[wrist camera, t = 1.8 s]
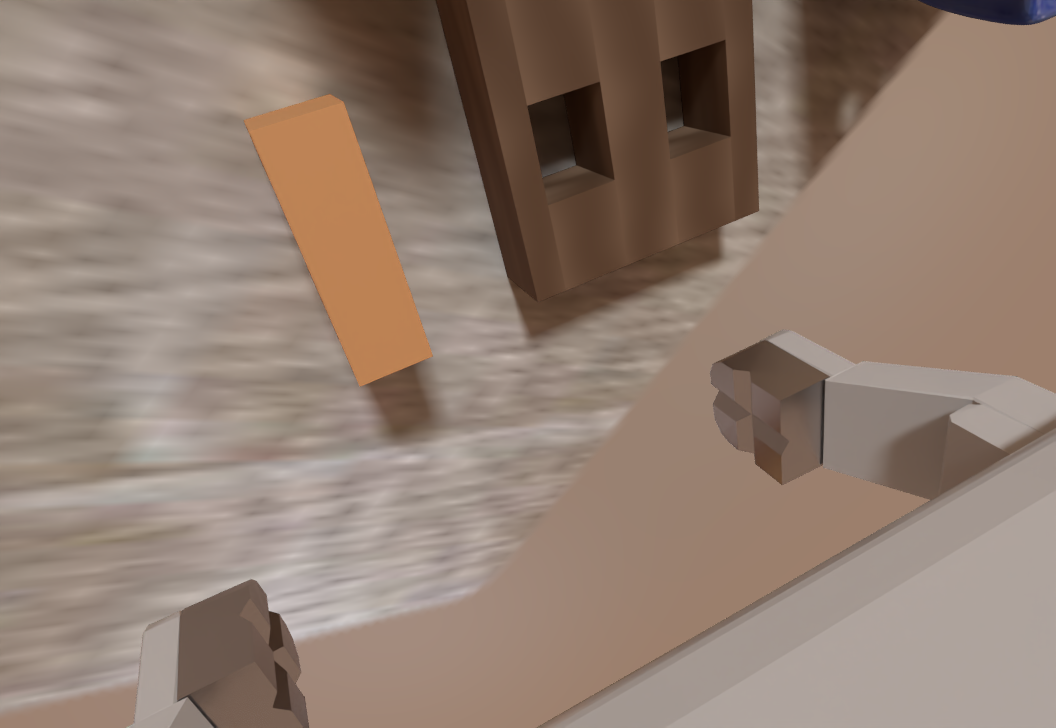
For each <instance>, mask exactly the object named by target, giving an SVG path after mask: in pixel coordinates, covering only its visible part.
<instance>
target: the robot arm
mask: <svg viewBox="0 0 1056 728" xmlns="http://www.w3.org/2000/svg"><path fill="white" fill-rule="evenodd" d="M710 376H711V384H712V385H713V386H714V387H716V388H717V389H718V390H719V392H718V394H717V396H716V399H715V401H714V403H713V409H714V416H715V420H716V423H717V425H718V427H719V429H720V431H721V433H722V434H723V436H724V437H725V438H726V439H727V441H728V442H729V443H730V444H732V445H733V446H734V447H735V448H736V449H738V450H741V451H745V452H750V453H754V457H755V464H756V465H757V466H759V467H760V468H761V469H762V470H764V471H765V472H766V473H767V474H769V475H770V476H771V477H772V478H774V479H775V480H776V481H777V482H779V483H780V484H781V485H784V484H786V483H788V482H790V481H792V480H794V479H796V478H798V477H800V476H802V475H804V474H806V473H808V472H810V471H812V470H814V469H816V468H818V467H820V466H822V465H823V468H827V469H830V470H833V471H836V472H840V473H843V474H846V475H850V476H853V477H856V478H860V479H863V480H866V481H870V482H873V483H876V484H880V485H883V486H887V487H890V488H893V489H897V490H900V491H903V492H906V493H910V494H913V495H916V496H920V497H923V498H926V499H930V501H928V502H927V503H925V504H923V505H922V506H920V507H918V508H916V509H915V510H913V511H911V512H910V513H908V514H906V515H904V516H902V517H901V518H899V519H897V520H896V521H894V522H892V523H890V524H888V525H887V526H885V527H883V528H882V529H880V530H878V531H876V532H875V533H873V534H871V535H870V536H868V537H866V538H864V539H863V540H861V541H859V542H857V543H856V544H854V545H852V546H851V547H849V548H847V549H845V550H843V551H842V552H840V553H839V554H837V555H835V556H833V557H831V558H830V559H828V560H826V561H824V562H823V563H821V564H819V565H817V566H816V567H814V568H812V569H811V570H809V571H807V572H805V573H804V574H802V575H800V576H799V577H797V578H795V579H793V580H792V581H790V582H788V583H786V584H785V585H783V586H781V587H779V588H778V589H776V590H774V591H773V592H771V593H769V594H767V595H766V596H764V597H762V598H760V599H759V600H757V601H755V602H753V603H752V604H750V605H748V606H747V607H745V608H743V609H742V610H740V611H738V612H736V613H734V614H733V615H731V616H729V617H728V618H726V619H724V620H722V621H721V622H719V623H717V624H715V625H714V626H712V627H710V628H708V629H707V630H705V631H703V632H702V633H700V634H698V635H696V636H695V637H693V638H691V639H690V640H688V641H686V642H684V643H682V644H681V645H679V646H677V647H676V648H674V649H672V650H671V651H669V652H667V653H665V654H663V655H662V656H660V657H658V658H656V659H655V660H653V661H651V662H650V663H648V664H646V665H644V666H643V667H641V668H639V669H637V670H636V671H634V672H632V673H631V674H629V675H627V676H625V677H624V678H622V679H620V680H618V681H617V682H615V683H613V684H611V685H610V686H608V687H606V688H604V689H603V690H601V691H599V692H598V693H596V694H594V695H592V696H591V697H589V698H587V699H585V700H584V701H582V702H580V703H579V704H577V705H575V706H573V707H572V708H570V709H568V710H566V711H565V712H563V713H561V714H560V715H558V716H556V717H554V718H552V719H551V720H549V721H547V722H545V723H544V724H542V725H540V726H539V727H537V728H1056V394H1055V393H1053V392H1050V391H1048V390H1046V389H1044V388H1042V387H1039V386H1037V385H1035V384H1032V383H1030V382H1028V381H1026V380H1023V379H1021V378H1019V377H1016V376H1005V375H996V374H986V373H976V372H966V371H956V370H945V369H936V368H925V367H916V366H906V365H895V364H885V363H875V362H866V361H862V362H860V363H858V364H854V363H852V362H850V361H848V360H846V359H844V358H842V357H841V356H839V355H837V354H835V353H833V352H831V351H829V350H827V349H825V348H824V347H822V346H820V345H817V344H815V343H814V342H812V341H810V340H808V339H806V338H804V337H803V336H801V335H799V334H797V333H795V332H793V331H791V330H781V331H779V332H777V333H775V334H773V335H771V336H769V337H766V338H764V339H762V340H760V341H759V342H758V343H756V344H754V345H752V346H749V347H747V348H746V349H743V350H741V351H739V352H737V353H735V354H733V355H730V356H728V357H726V358H724V359H722V360H720V361H718V362H716V363H714V364H713V365H712V368H711V371H710ZM300 673H301V669H300V664H299V657H298V654H297V651H296V647H295V644H294V641H293V638H292V636H291V634H290V632H289V630H288V628H287V626H286V624H285V622H284V621H283V619H282V618H281V616H280V614H278V613H274V612H270V611H268V603H267V595H266V593H265V592H264V591H263V589H262V588H261V587H260V585H259V584H258V582H257V581H255V580H252V579H250V580H248V581H246V582H244V583H241V584H239V585H237V586H234V587H232V588H230V589H228V590H225V591H223V592H221V593H219V594H216V595H214V596H212V597H210V598H207V599H205V600H203V601H201V602H198V603H196V604H194V605H191V606H189V607H187V608H185V609H184V610H182V611H179V612H177V613H175V614H172V615H170V616H168V617H166V618H164V619H161V620H159V621H157V622H155V623H152V624H150V625H148V627H147V628H146V630H145V631H144V633H143V637H142V647H141V656H140V666H139V676H138V686H137V695H136V705H135V715H134V724H132V725H130V726H128V727H126V728H309V723H308V716H307V709H306V702H305V697H304V696H303V694H302V693H301V691H300V690H299V688H298V687H297V685H296V682H297V680H298V678H299V676H300Z"/></svg>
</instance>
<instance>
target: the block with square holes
mask: <svg viewBox="0 0 1056 728" xmlns="http://www.w3.org/2000/svg"><path fill="white" fill-rule="evenodd" d="M436 2H437V6H438V10H439V14H440V18H441V22H442V26H443V29H444V33H445V37H446V41H447V45H448V49H449V52H450V56H451V60H452V64H453V68H454V72H455V76H456V79H457V83H458V87H459V91H460V95H461V99H462V103H463V106H464V110H465V114H466V118H467V122H468V126H469V129H470V133H471V137H472V141H473V145H474V149H475V153H476V156H477V160H478V164H479V168H480V172H481V176H482V180H483V183H484V187H485V191H486V195H487V199H488V203H489V206H490V210H491V214H492V218H493V222H494V226H495V230H496V233H497V237H498V241H499V245H500V249H501V253H502V257H503V260H504V264H505V268H506V272H507V276H508V278H510V279H511V280H512V281H513V282H514V283H516V284H517V285H518V286H519V287H520V288H522V289H523V290H524V291H525V292H526V293H528V294H529V295H530V296H531V297H532V298H534V299H535V300H536V301H537V302H540V301H542V300H545V299H547V298H550V297H552V296H554V295H557V294H559V293H562V292H564V291H567V290H569V289H571V288H574V287H576V286H579V285H581V284H583V283H586V282H588V281H591V280H593V279H596V278H598V277H600V276H603V275H605V274H608V273H610V272H612V271H615V270H617V269H620V268H622V267H625V266H627V265H629V264H632V263H634V262H637V261H639V260H641V259H644V258H646V257H649V256H651V255H654V254H656V253H658V252H661V251H663V250H666V249H668V248H670V247H673V246H675V245H678V244H680V243H683V242H685V241H687V240H690V239H692V238H695V237H697V236H699V235H702V234H704V233H707V232H709V231H712V230H714V229H716V228H719V227H721V226H724V225H726V224H728V223H731V222H733V221H736V220H738V219H740V218H743V217H745V216H748V215H750V214H753V213H755V212H757V211H759V196H758V165H757V135H756V104H755V74H754V43H753V12H752V0H436ZM675 56H678V64H679V75H680V86H681V97H682V108H683V119H684V126H683V127H680V128H678V129H675V130H672V131H670V132H668V131H667V121H666V112H665V102H664V92H663V83H662V73H661V63H660V61H663V60H666V59H669V58H672V57H675ZM561 94H564V98H565V103H566V109H567V115H568V120H569V126H570V131H571V137H572V142H573V148H574V153H575V159H576V166H573V167H571V168H568V169H565V170H562V171H560V172H557V173H554V174H551V175H549V176H546V177H543V178H542V174H541V169H540V164H539V160H538V155H537V150H536V145H535V141H534V136H533V131H532V126H531V122H530V117H529V112H528V107H527V106H528V105H531V104H534V103H537V102H540V101H543V100H546V99H549V98H552V97H555V96H558V95H561Z"/></svg>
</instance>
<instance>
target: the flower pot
mask: <svg viewBox="0 0 1056 728" xmlns="http://www.w3.org/2000/svg"><path fill="white" fill-rule="evenodd" d="M918 1H921V2H923V3H925V4H927V5H930V6H932V7H935V8H938V9H941V10H944V11H947V12H951V13H954V14H959V15H962V16H966V17H970V18H975V19H980V20H986V21H990V22H997V23H1003V24H1012V25H1031V24H1035V23H1040V22H1042V21H1045V20H1047V19H1050V18H1052V17H1054V16H1056V0H918Z"/></svg>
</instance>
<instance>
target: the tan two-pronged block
mask: <svg viewBox="0 0 1056 728" xmlns="http://www.w3.org/2000/svg"><path fill="white" fill-rule="evenodd" d="M244 123H245V125H246V128H247V130H248V132H249V134H250V137H251V139H252V141H253V144H254V146H255V148H256V151H257V153H258V155H259V157H260V160H261V162H262V164H263V167H264V169H265V171H266V173H267V176H268V178H269V180H270V182H271V184H272V187H273V189H274V191H275V193H276V196H277V198H278V200H279V202H280V205H281V207H282V209H283V212H284V214H285V216H286V219H287V221H288V223H289V225H290V228H291V230H292V232H293V235H294V237H295V239H296V242H297V244H298V246H299V248H300V251H301V253H302V255H303V258H304V260H305V262H306V265H307V268H308V270H309V272H310V275H311V277H312V279H313V281H314V284H315V286H316V288H317V291H318V293H319V295H320V297H321V300H322V302H323V304H324V307H325V309H326V311H327V313H328V316H329V318H330V320H331V322H332V325H333V327H334V329H335V331H336V334H337V336H338V338H339V340H340V343H341V345H342V347H343V350H344V352H345V354H346V356H347V359H348V361H349V363H350V365H351V368H352V370H353V372H354V374H355V377H356V379H357V381H358V384H359V386H363V385H365V384H368V383H370V382H372V381H375V380H377V379H380V378H382V377H384V376H387V375H389V374H392V373H394V372H396V371H399V370H401V369H404V368H406V367H408V366H411V365H413V364H416V363H418V362H420V361H423V360H425V359H427V358H430V357H432V356H433V355H432V352H431V349H430V346H429V343H428V341H427V338H426V335H425V332H424V329H423V326H422V323H421V321H420V318H419V315H418V312H417V309H416V306H415V304H414V301H413V298H412V295H411V292H410V289H409V286H408V284H407V281H406V278H405V275H404V272H403V269H402V267H401V264H400V261H399V258H398V255H397V252H396V250H395V247H394V244H393V241H392V238H391V235H390V232H389V230H388V227H387V224H386V221H385V218H384V215H383V213H382V210H381V207H380V204H379V201H378V198H377V195H376V193H375V190H374V187H373V184H372V181H371V178H370V176H369V173H368V170H367V167H366V164H365V161H364V159H363V156H362V153H361V150H360V147H359V144H358V141H357V139H356V136H355V133H354V130H353V127H352V124H351V122H350V119H349V116H348V113H347V110H346V107H345V104H344V102H343V101H341V100H339V99H337V98H336V97H334V96H332V95H331V94H328V95H325V96H322V97H318V98H315V99H312V100H308V101H305V102H302V103H299V104H295V105H292V106H289V107H285V108H282V109H279V110H276V111H272V112H269V113H266V114H262V115H259V116H256V117H253V118H249V119H246V120H244Z"/></svg>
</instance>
